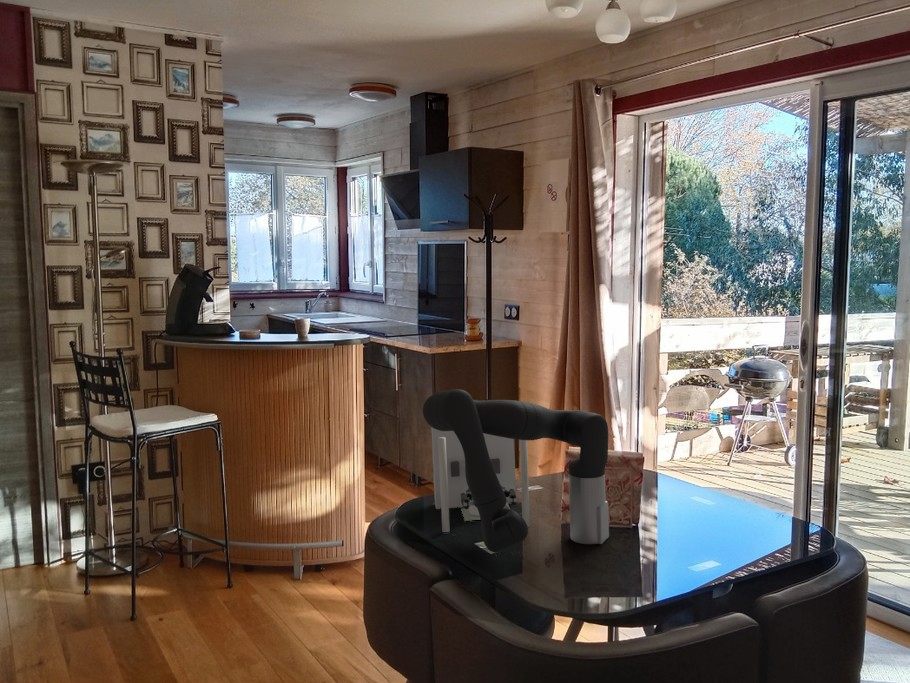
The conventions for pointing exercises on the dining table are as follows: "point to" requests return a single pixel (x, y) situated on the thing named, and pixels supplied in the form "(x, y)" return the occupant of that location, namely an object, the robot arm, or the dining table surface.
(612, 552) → the dining table surface
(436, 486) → the breaker panel
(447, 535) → the dining table surface
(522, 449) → the cord posts
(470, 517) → the pad
